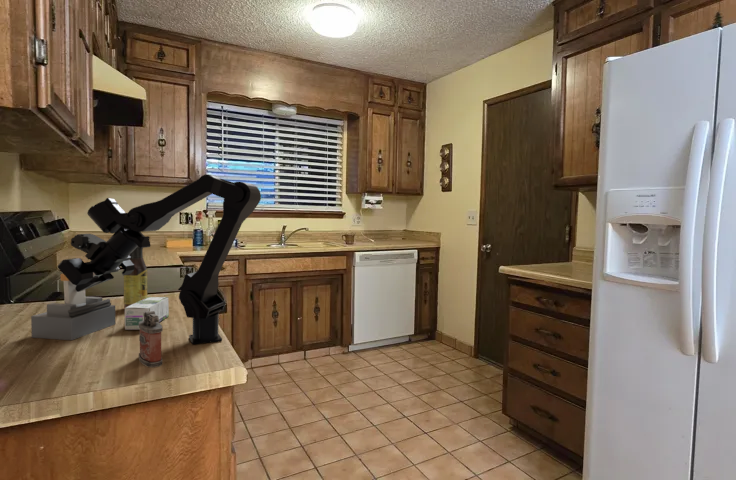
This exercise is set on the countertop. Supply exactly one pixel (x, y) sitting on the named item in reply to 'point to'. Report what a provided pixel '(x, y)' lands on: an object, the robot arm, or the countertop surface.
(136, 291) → the sauce bottle
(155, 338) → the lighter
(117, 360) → the countertop surface
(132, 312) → the syrup box
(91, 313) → the block
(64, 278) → the lever
